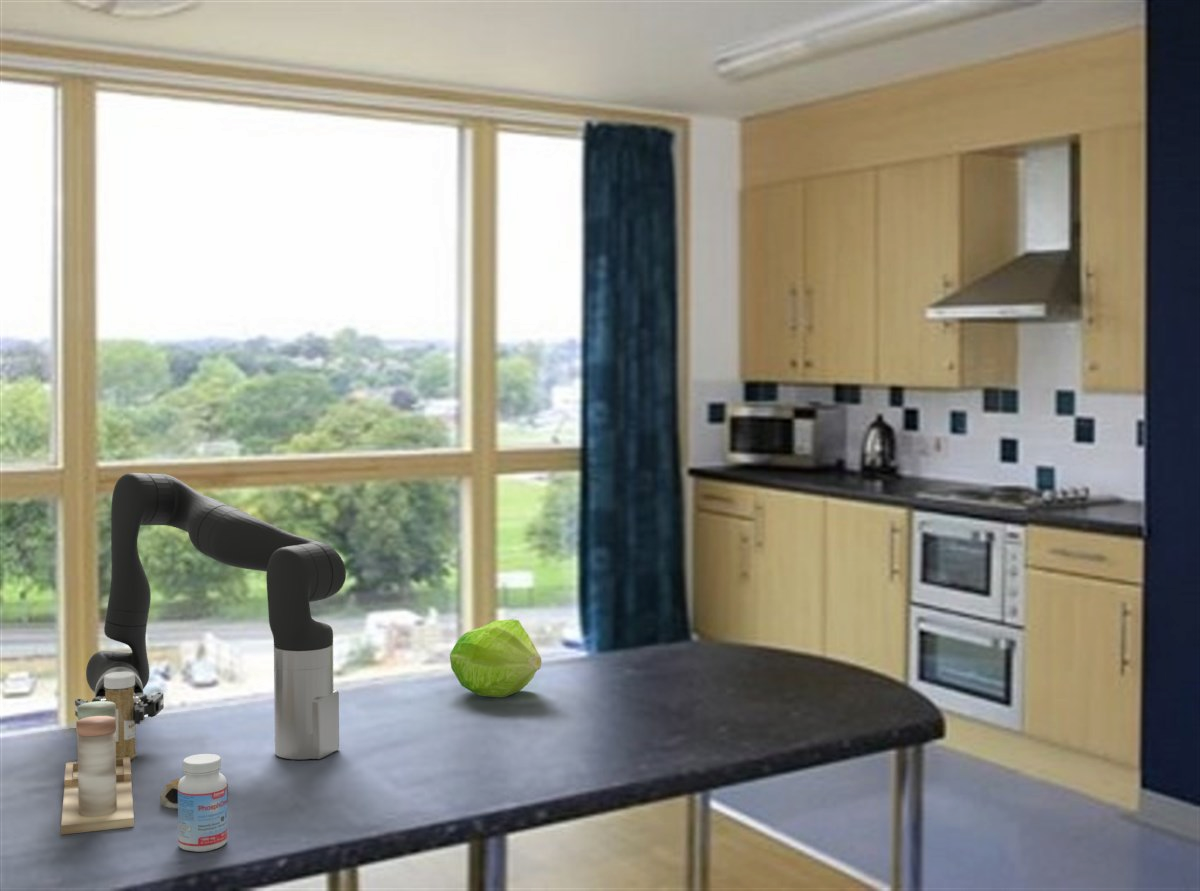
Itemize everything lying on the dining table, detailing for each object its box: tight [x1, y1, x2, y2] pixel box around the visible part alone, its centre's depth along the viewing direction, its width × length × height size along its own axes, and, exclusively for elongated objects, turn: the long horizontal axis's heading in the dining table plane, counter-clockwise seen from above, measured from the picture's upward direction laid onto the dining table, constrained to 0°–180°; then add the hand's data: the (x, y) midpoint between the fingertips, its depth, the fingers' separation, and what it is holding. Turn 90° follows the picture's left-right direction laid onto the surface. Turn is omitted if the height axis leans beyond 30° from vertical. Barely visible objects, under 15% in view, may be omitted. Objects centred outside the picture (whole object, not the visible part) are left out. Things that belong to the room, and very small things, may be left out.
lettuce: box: [449, 618, 542, 698], centre depth 248 cm, size 15×20×14 cm
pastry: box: [159, 778, 229, 810], centre depth 188 cm, size 9×7×4 cm
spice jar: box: [104, 671, 137, 761], centre depth 207 cm, size 5×5×13 cm
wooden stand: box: [60, 701, 135, 835], centre depth 187 cm, size 26×9×14 cm, turn 21°
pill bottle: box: [177, 753, 228, 853], centre depth 170 cm, size 6×6×11 cm
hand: (120, 718), depth 204 cm, fingers closed on spice jar, 4 cm apart
